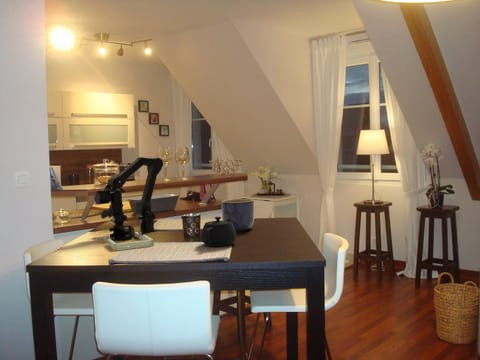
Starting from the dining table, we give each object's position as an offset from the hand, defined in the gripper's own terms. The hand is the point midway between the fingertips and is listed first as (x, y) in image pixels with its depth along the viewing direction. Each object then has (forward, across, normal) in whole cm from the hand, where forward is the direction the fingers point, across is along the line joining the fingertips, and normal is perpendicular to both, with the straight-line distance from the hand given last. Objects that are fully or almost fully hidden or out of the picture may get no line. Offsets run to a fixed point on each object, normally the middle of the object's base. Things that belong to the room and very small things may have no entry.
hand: (118, 233), depth 239 cm
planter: (+2, +20, +57) cm, 61 cm away
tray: (+2, +26, 0) cm, 26 cm away
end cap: (+2, +9, 0) cm, 9 cm away
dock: (+2, +9, 0) cm, 9 cm away
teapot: (+2, +49, +34) cm, 60 cm away
